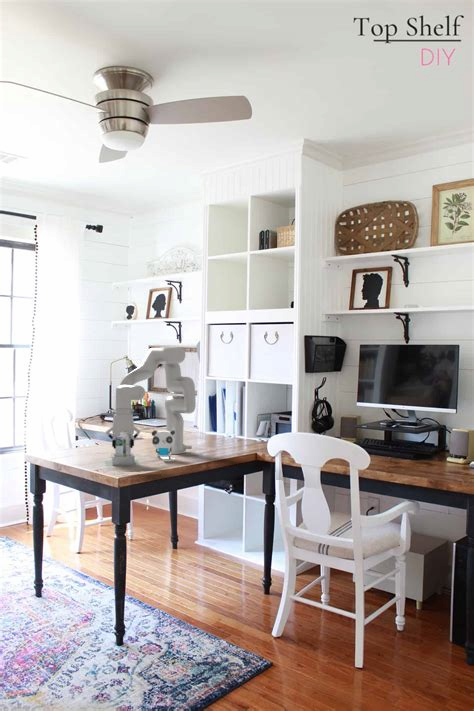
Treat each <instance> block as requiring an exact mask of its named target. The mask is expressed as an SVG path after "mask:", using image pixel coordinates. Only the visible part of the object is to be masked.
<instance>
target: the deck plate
mask: <svg viewBox="0 0 474 711" xmlns="http://www.w3.org/2000/svg"><path fill="white" fill-rule="evenodd" d="M104 463H105V466H106V467H127V466H128V467H129V466H130V467H131V466H133V467H134V466H141V464H140V461H139V460H138V459H134V465H112V463H111V460H105V461H104Z"/></svg>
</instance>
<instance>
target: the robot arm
mask: <svg viewBox="0 0 474 711" xmlns="http://www.w3.org/2000/svg"><path fill="white" fill-rule="evenodd" d="M185 358H186V351H185V349H183V348H182V346H181V347H180V346H160V347H151V348H149V349H148V350H147V352H146V353H145V356H144V357H143V358H142V360H141V362H140V364H139V366H138V367H137V368H135V369H133V370H132V371H130V372H129V373H127V374H126V375H125V376H124V377H123V378H122V380H121V381H120V383H119V385H118V386H116V388H115V413H114V414H113V419H112V426H111V427H110V428H109V429H108V430H106V431H105V433H106V435H107V437H108V438H109V439H111V441H112V442H111V447H112V448H113V449H114V450H115V438H116V436H117V435H119V434H120V432H126V431H127V433H128V435H130V436H131V449H133V448H134V447H135V439H137V437H138V436H139V435H140V433H141V430H139V428H137V427H136V426H135V422H134V415H133V414H132V413H135V409H133V408H132V401H141V400H143V399H144V398H145V395H146V390H145V388H144V387H143V386H141V385H138V384H137V383H140V382H143V381H146V380H147V379H150V378H152V377H153V376H154V374H155V372H156V370H157V368H158V366H159V365H162V366H163V368H164V372H165V382H166V383H165V385H166V386H165V387H166V390H167V392H168V393H170V394H176V395H169V396H167V397H166V398H165V400H164V409H165V418H166V419H165V420H166V422H165V423H166V427H165V431H170V432H171V431H172V430H174V431H175V434H174V439H175V441H174V444H173V446H172V447H171V455H181V454H185V453H187V451H186V450H192V445H185V443H184V417H183V416H182V414H186V415H187V414H188V415H189V414H193V413H194V412H195V410H196V406H197V402H196V386H195V381H194V380H193V378H192V377H189V376H182V371H181V365H180V364H181V363H183V361H185ZM179 394H181V395H179ZM134 432H135V434H134ZM111 433H112V434H113V435H112V434H111Z"/></svg>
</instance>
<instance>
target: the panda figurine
mask: <svg viewBox="0 0 474 711" xmlns="http://www.w3.org/2000/svg"><path fill="white" fill-rule="evenodd" d="M174 434H175V431H174V430H172V431H171V432H170V431H166V430H159V431H157V429H155V430H153V431H152V432H151V436H152V437H153V438H152V440H151V441H152V445H153V447H154V448H155V453H156V454H157V458H161V460H162V462H173V461H175V460H176V458H175V457H172V454H171V447H172V446H173V444H174V441H175V439H174Z"/></svg>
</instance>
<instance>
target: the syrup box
mask: <svg viewBox="0 0 474 711" xmlns="http://www.w3.org/2000/svg"><path fill="white" fill-rule="evenodd" d="M114 451H115V452H114V453H115V457H116V456H131V453H132V452H131V451H132V448H131V436H130V435H128V433H127V431H126V432H120V434H119V435H117V436H116V438H115V449H114Z"/></svg>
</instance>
